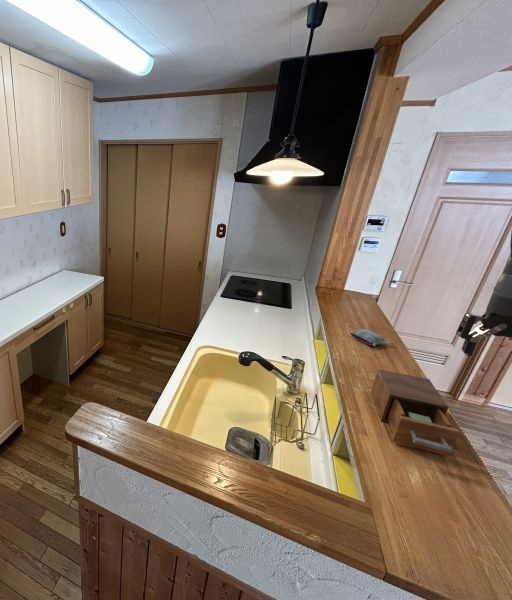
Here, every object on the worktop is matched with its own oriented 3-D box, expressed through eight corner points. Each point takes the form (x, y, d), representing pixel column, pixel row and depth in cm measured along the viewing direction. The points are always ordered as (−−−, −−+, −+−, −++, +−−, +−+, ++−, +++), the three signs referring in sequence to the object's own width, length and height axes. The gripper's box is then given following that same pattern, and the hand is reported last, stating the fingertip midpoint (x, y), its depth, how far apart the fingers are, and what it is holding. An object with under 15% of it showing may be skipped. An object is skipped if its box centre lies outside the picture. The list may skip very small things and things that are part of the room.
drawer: (457, 470, 78) (469, 445, 76) (397, 453, 83) (406, 429, 81) (429, 422, 94) (438, 400, 91) (380, 411, 99) (388, 390, 96)
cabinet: (436, 435, 90) (448, 407, 87) (380, 421, 96) (389, 394, 93) (419, 404, 103) (429, 379, 99) (370, 393, 108) (378, 369, 105)
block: (423, 430, 90) (429, 417, 88) (429, 441, 86) (435, 427, 84) (403, 424, 92) (408, 411, 90) (407, 435, 88) (412, 422, 86)
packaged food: (364, 335, 148) (366, 325, 146) (389, 347, 137) (392, 337, 135) (347, 337, 147) (350, 327, 145) (371, 349, 136) (375, 339, 134)
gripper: (482, 295, 72) (458, 359, 77) (580, 304, 65) (546, 373, 71) (467, 286, 78) (445, 345, 83) (554, 293, 72) (525, 357, 77)
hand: (491, 358), depth 77 cm, fingers open, 8 cm apart
